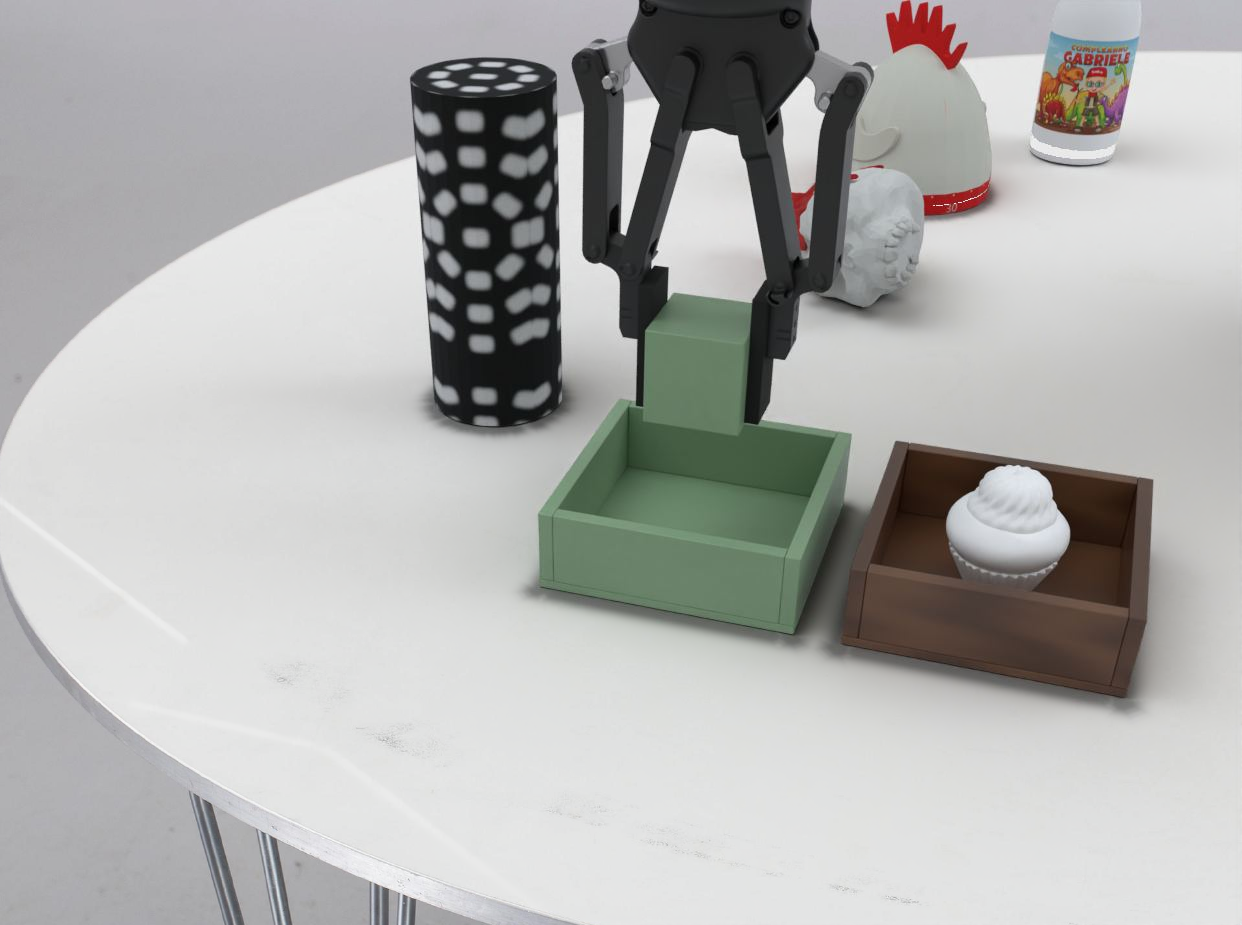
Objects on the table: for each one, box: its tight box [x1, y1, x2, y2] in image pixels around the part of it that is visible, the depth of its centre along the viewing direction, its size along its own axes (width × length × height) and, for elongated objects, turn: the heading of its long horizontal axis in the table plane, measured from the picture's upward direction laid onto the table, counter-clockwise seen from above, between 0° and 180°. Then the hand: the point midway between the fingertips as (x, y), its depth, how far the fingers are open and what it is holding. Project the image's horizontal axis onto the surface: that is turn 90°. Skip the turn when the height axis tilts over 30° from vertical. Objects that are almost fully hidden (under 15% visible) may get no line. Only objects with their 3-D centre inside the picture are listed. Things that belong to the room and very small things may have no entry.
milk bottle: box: [1028, 0, 1143, 166], centre depth 127 cm, size 8×8×20 cm
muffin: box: [946, 465, 1070, 591], centre depth 72 cm, size 6×6×7 cm
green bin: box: [537, 398, 853, 635], centre depth 78 cm, size 14×14×4 cm
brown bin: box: [840, 440, 1154, 698], centre depth 73 cm, size 14×14×4 cm
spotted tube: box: [409, 56, 563, 427], centre depth 87 cm, size 8×8×20 cm
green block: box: [643, 292, 752, 436], centre depth 72 cm, size 5×5×5 cm
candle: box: [791, 165, 925, 308], centre depth 106 cm, size 9×11×15 cm
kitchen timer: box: [851, 0, 993, 216], centre depth 121 cm, size 14×14×15 cm
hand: (703, 403), depth 74 cm, fingers closed on green block, 5 cm apart
